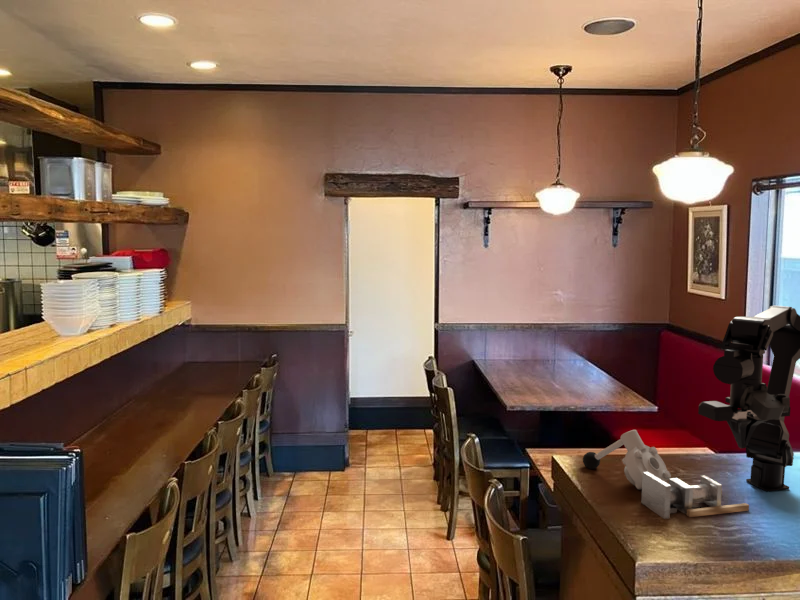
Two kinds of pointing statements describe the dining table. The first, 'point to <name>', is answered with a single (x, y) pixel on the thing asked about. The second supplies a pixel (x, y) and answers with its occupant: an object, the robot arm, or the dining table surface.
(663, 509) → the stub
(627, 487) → the dining table surface
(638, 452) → the mechanical valve
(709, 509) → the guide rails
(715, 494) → the grey slotted block
